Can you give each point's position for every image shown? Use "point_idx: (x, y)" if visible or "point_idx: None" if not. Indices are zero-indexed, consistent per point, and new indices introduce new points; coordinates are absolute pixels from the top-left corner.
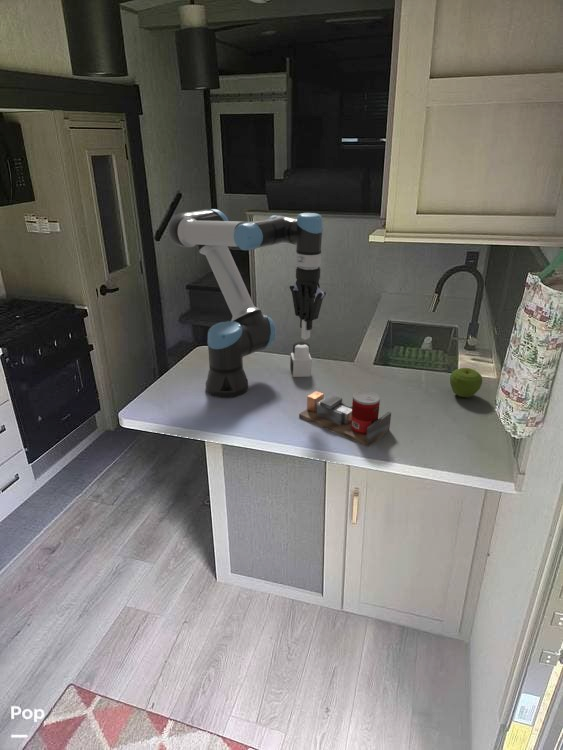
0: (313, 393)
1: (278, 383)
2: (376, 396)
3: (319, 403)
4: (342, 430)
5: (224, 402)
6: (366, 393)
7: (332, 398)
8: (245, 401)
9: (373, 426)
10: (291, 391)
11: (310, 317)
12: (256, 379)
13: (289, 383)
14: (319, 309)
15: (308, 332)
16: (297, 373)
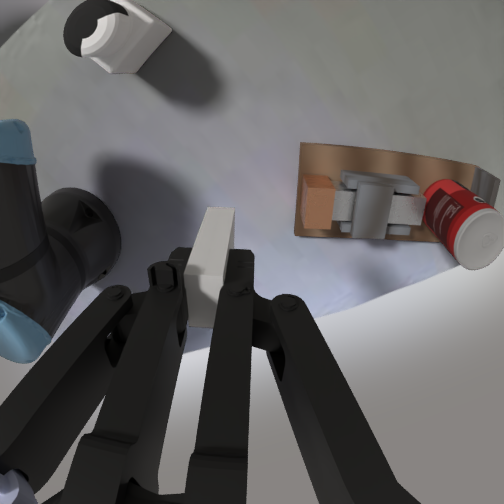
0: (309, 205)
1: (132, 129)
2: (500, 222)
3: (341, 220)
4: (408, 235)
5: (125, 278)
6: (479, 221)
7: (372, 203)
8: (148, 251)
9: None
10: (190, 139)
11: (268, 357)
12: (80, 155)
13: (153, 106)
14: (337, 375)
15: (231, 240)
16: (140, 62)
